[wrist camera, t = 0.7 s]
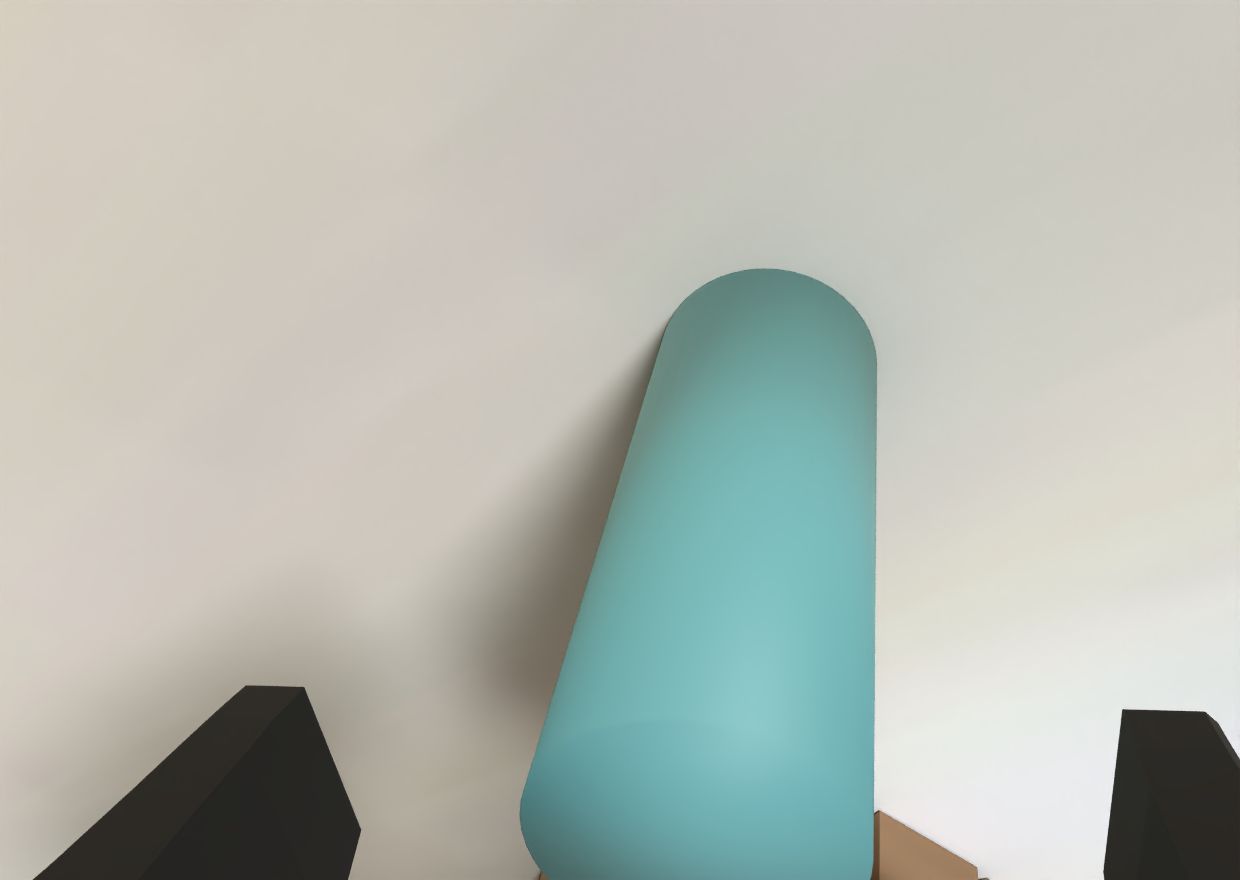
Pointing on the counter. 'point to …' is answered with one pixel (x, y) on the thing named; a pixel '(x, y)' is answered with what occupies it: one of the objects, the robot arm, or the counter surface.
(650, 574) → the capsule peg
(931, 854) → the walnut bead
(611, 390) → the counter surface
